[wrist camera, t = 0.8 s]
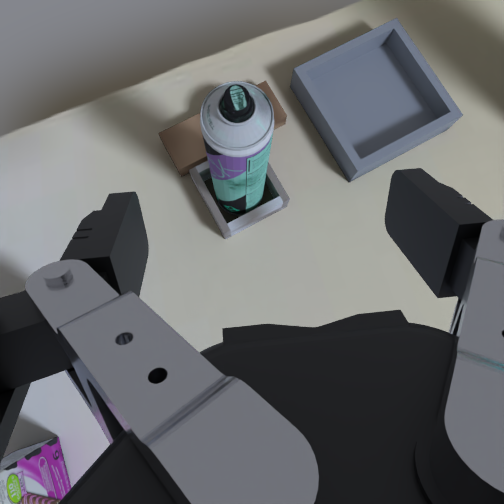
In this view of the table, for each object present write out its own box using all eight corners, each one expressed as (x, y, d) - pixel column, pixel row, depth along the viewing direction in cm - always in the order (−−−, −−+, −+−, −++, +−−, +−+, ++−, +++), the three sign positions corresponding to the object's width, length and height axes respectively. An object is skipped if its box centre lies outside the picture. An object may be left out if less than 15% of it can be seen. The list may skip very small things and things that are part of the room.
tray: (385, 39, 49) (396, 17, 45) (446, 129, 47) (463, 115, 43) (290, 86, 47) (293, 68, 44) (349, 182, 45) (357, 171, 42)
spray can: (237, 161, 45) (233, 42, 26) (272, 191, 45) (295, 92, 25) (206, 194, 45) (176, 97, 25) (241, 225, 44) (239, 151, 24)
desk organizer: (262, 87, 47) (264, 69, 44) (323, 187, 45) (329, 176, 42) (160, 137, 46) (153, 123, 42) (217, 243, 44) (215, 236, 40)
